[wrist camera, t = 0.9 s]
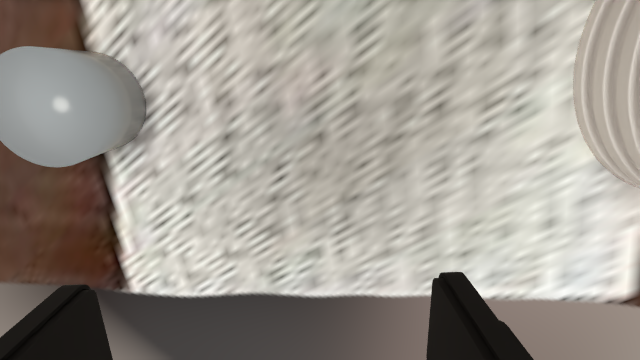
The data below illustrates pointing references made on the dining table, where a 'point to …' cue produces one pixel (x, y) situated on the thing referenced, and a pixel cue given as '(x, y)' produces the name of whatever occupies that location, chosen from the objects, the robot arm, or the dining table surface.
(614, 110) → the plate stack
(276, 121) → the dining table surface
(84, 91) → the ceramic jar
